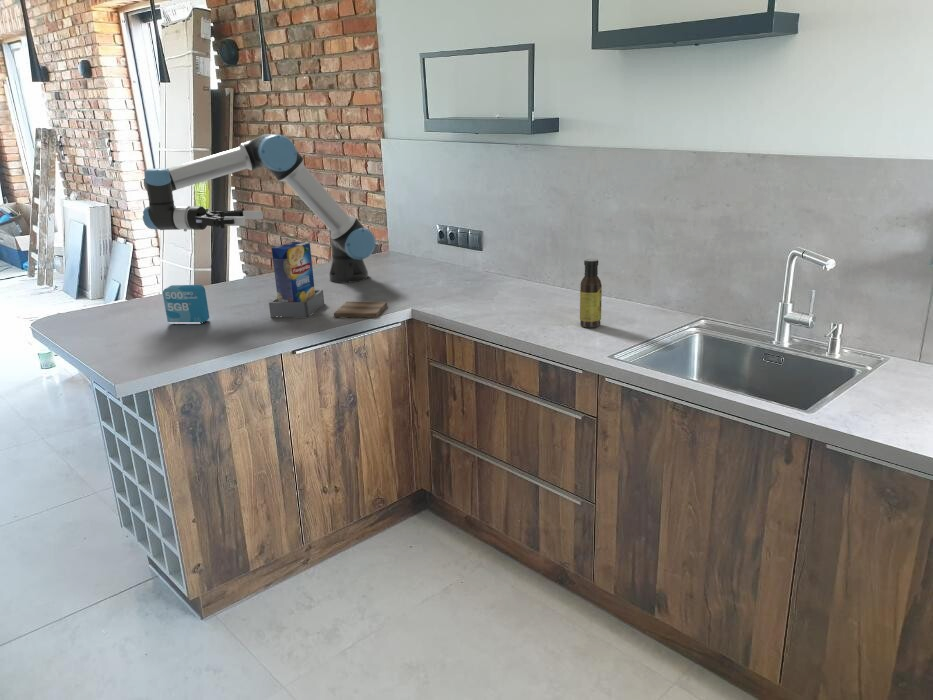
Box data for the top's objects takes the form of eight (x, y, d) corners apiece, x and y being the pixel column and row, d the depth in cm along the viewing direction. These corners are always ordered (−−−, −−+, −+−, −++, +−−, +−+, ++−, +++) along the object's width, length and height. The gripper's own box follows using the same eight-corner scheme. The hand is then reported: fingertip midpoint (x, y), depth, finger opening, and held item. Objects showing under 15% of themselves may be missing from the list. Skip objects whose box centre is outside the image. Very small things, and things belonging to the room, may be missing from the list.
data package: (167, 325, 226) (161, 288, 222) (174, 321, 231) (167, 285, 227) (204, 324, 226) (198, 288, 222) (210, 320, 230) (204, 284, 226)
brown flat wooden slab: (346, 305, 241) (346, 301, 241) (386, 306, 240) (386, 301, 239) (334, 317, 228) (333, 313, 228) (376, 317, 227) (376, 313, 226)
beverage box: (316, 307, 241) (309, 242, 234) (295, 315, 232) (288, 249, 225) (300, 305, 244) (293, 241, 237) (279, 313, 235) (271, 247, 228)
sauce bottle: (604, 327, 210) (606, 261, 203) (584, 329, 208) (585, 262, 202) (595, 321, 215) (597, 256, 209) (576, 323, 214) (577, 258, 208)
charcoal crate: (289, 303, 247) (287, 289, 245) (324, 303, 245) (322, 289, 243) (270, 317, 231) (268, 302, 229) (307, 317, 229) (306, 302, 228)
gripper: (211, 223, 244) (270, 223, 241) (173, 236, 221) (238, 236, 218) (208, 201, 242) (267, 201, 239) (170, 211, 218) (235, 211, 215)
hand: (254, 217), depth 228 cm, fingers open, 13 cm apart
